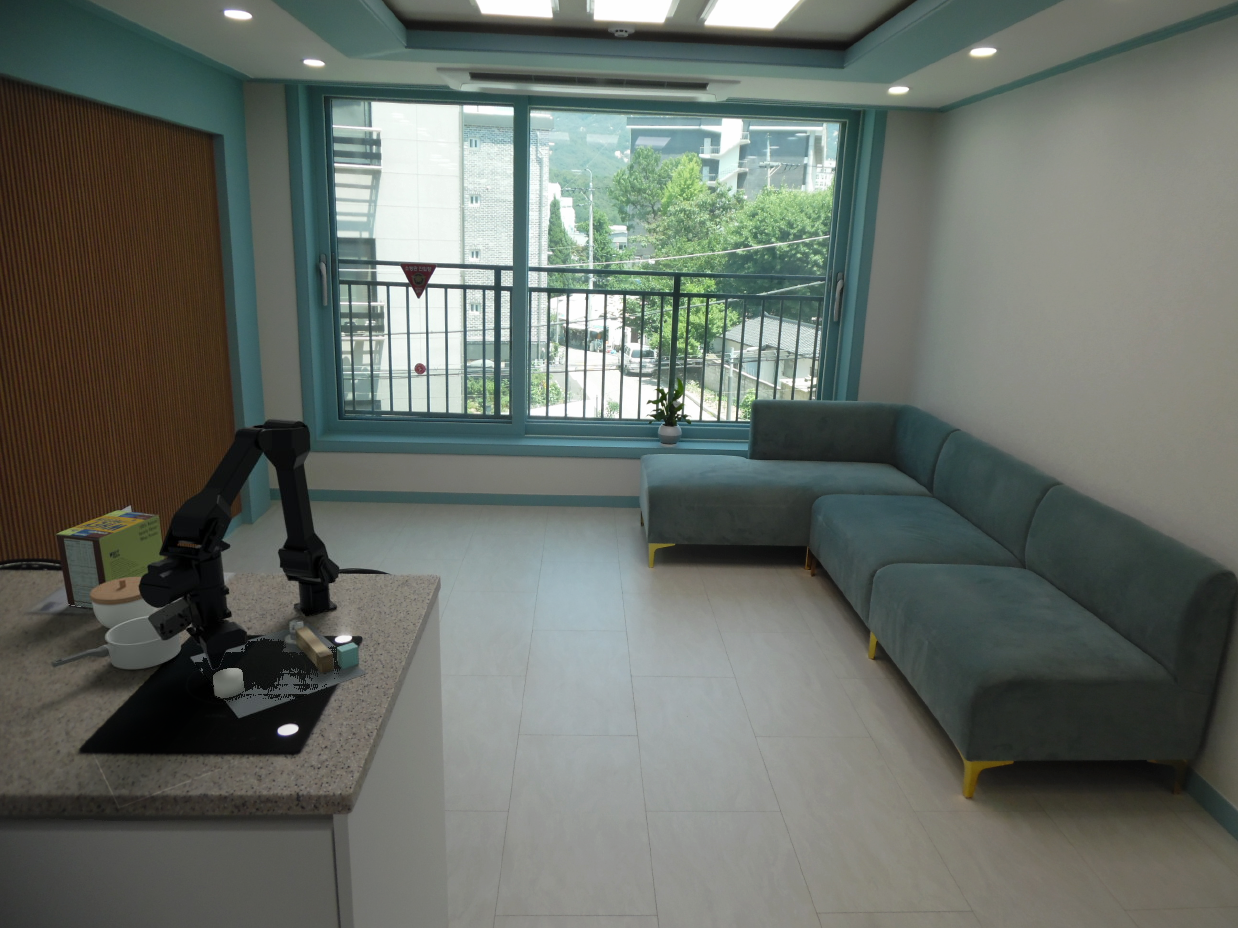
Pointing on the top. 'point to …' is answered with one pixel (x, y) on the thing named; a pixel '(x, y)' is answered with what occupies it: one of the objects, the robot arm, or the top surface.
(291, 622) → the hinge pin
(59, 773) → the top surface
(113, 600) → the lidded jar
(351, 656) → the teal rectangular block
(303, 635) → the wooden block
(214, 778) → the top surface
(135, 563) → the protein box
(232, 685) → the door stop
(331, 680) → the mat
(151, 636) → the saucepan
